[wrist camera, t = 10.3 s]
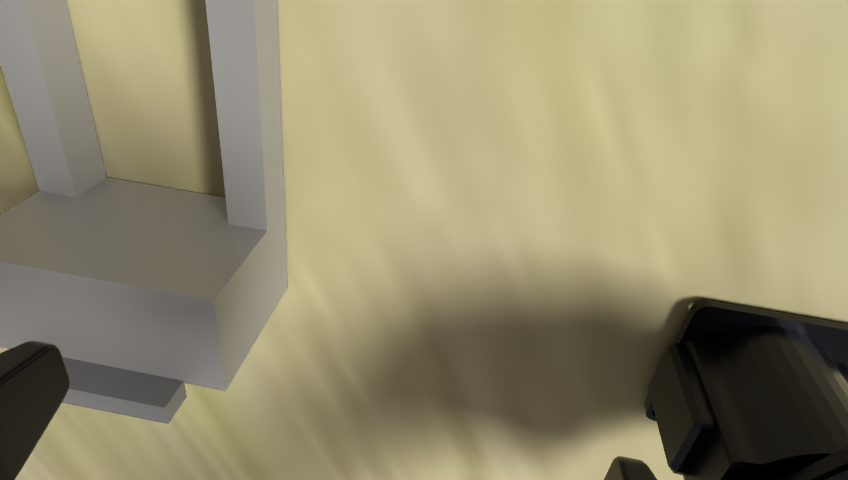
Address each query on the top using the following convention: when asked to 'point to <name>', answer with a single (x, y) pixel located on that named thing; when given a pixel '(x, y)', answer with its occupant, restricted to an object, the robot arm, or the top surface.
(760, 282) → the top surface
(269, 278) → the dock
